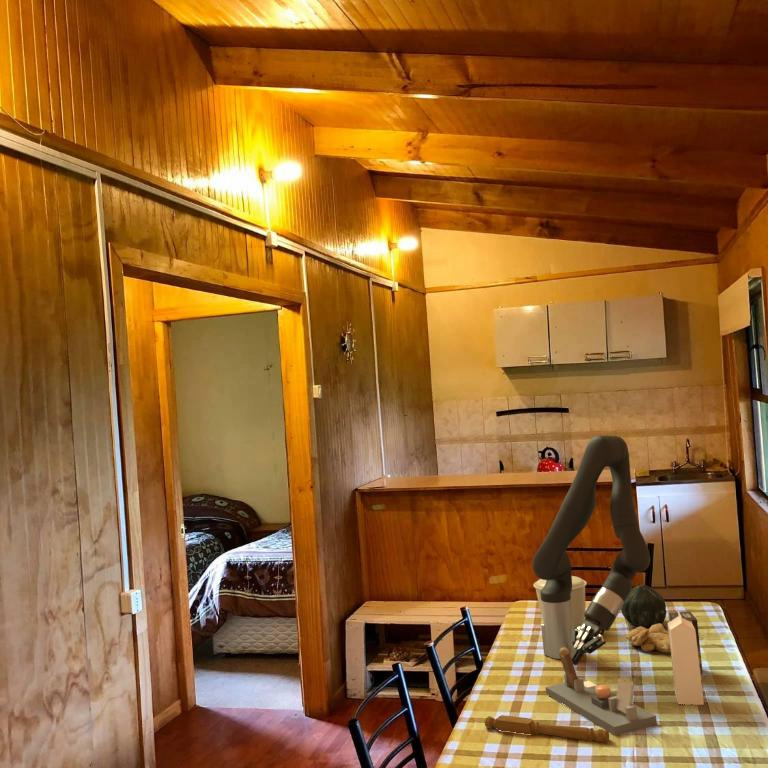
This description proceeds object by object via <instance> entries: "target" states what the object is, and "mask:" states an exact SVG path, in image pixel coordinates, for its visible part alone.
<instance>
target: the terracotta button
mask: <svg viewBox="0 0 768 768" xmlns="http://www.w3.org/2000/svg"><path fill="white" fill-rule="evenodd" d="M596 685H597V684H596ZM595 690H596V696H597V697H599V698H609V697H610V696H611V693H612V692H611V686H610V685H607V684H598V685H597V686H596V687H595Z"/></svg>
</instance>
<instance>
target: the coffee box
mask: <svg viewBox="0 0 768 768" xmlns="http://www.w3.org/2000/svg"><path fill="white" fill-rule="evenodd" d="M679 613H680V615H681V617H682V618H684V619H686V620H688V621H690V622H691V623H692V624H693V626H694V628H695V631H696V640H697V649H698V658H699V667H700V675H701V680H704V672H703V664H702V663H703V661H702V655H701V646H700V644H701V643H700V636H699V624H698V619H697V618H696V616H695V615H694V614H693V613H692V612H691V611H679ZM667 617H668V622H670V621H672V620H673V619H675V618H676V617H678V611H675V612H667Z"/></svg>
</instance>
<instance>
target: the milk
mask: <svg viewBox="0 0 768 768" xmlns="http://www.w3.org/2000/svg"><path fill="white" fill-rule="evenodd" d="M677 612H678V617H676V618H675V619H673V620H672V621H670V622H669V621H668V622H667V631H668V632H669V641H670V650H671V652H670V659H671V666H672V667H671V668H672V676H673V677H672V678H673V685H674V694H675V695H674V696H675V697H676V701H677V704H678V705H679V704H681V705H682V704H683V706H684V704H685V706H687V705H688V706H690V705H691V704H692V705H691V706H696V705H697V706H703V705H704V695H703V685H702V679H701V675H700V667H699V658H698V649H697V640H696V631H695V628H694V626H693V624H692V623H691V622H690V621H688V620H686V619H684V618H682V617H681V615H680V613H679V612H680V611H679V610H677ZM681 705H680V706H681Z"/></svg>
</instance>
